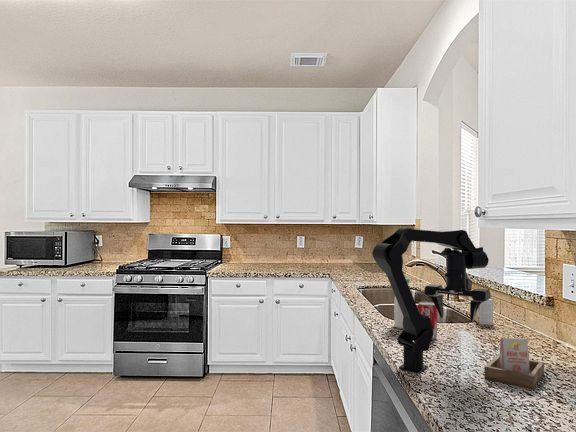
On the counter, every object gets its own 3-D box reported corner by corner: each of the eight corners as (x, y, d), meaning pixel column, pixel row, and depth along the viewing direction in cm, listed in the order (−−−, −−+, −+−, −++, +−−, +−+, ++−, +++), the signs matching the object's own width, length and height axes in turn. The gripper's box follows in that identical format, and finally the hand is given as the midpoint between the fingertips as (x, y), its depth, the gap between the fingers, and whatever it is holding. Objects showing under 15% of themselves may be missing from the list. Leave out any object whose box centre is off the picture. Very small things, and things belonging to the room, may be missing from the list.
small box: (473, 320, 189) (473, 295, 189) (487, 320, 188) (487, 296, 188) (479, 324, 181) (479, 299, 181) (493, 324, 180) (493, 299, 181)
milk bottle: (402, 330, 174) (401, 280, 174) (390, 325, 181) (390, 277, 181) (417, 327, 177) (417, 278, 177) (405, 323, 184) (405, 276, 184)
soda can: (421, 334, 167) (421, 300, 167) (440, 337, 163) (439, 302, 163) (414, 338, 162) (413, 303, 162) (433, 341, 157) (432, 305, 157)
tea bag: (499, 370, 125) (499, 335, 125) (526, 372, 123) (525, 337, 123) (502, 375, 121) (501, 339, 121) (529, 377, 119) (528, 341, 119)
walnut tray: (533, 389, 113) (533, 376, 113) (484, 379, 121) (484, 366, 121) (544, 374, 123) (543, 362, 123) (498, 365, 131) (498, 354, 131)
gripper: (495, 269, 136) (496, 319, 135) (436, 265, 148) (437, 311, 148) (484, 273, 127) (485, 326, 127) (423, 268, 139) (423, 317, 139)
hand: (456, 319), depth 135 cm, fingers open, 9 cm apart
